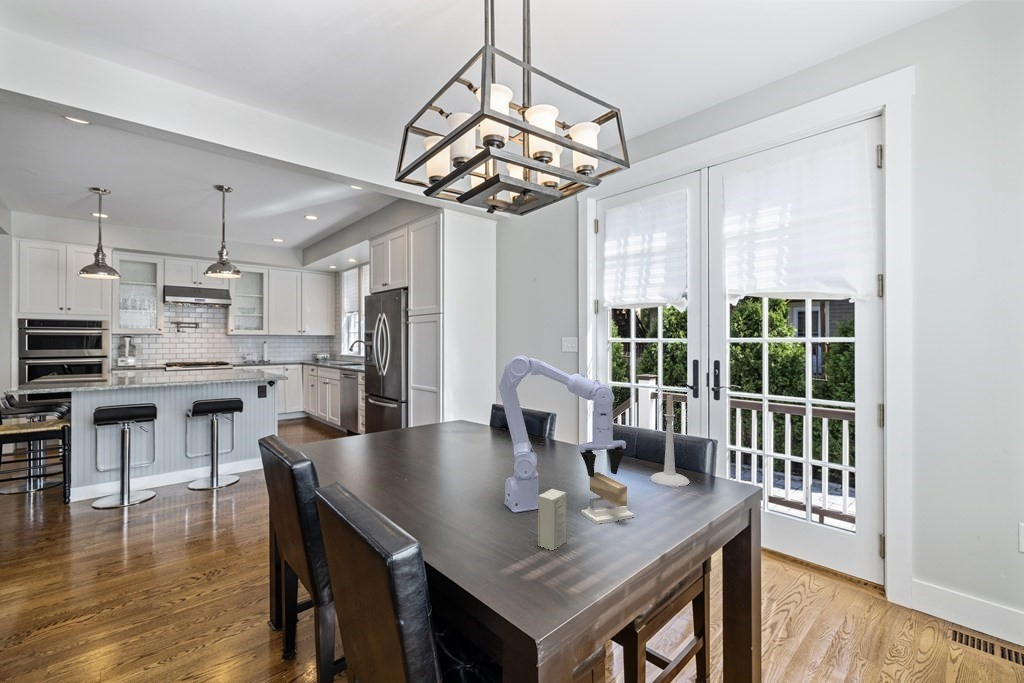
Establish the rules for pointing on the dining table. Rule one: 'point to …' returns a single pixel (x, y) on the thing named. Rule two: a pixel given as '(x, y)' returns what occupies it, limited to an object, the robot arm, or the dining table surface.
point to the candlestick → (669, 455)
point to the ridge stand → (605, 511)
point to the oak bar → (609, 489)
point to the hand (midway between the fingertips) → (602, 474)
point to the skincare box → (551, 519)
